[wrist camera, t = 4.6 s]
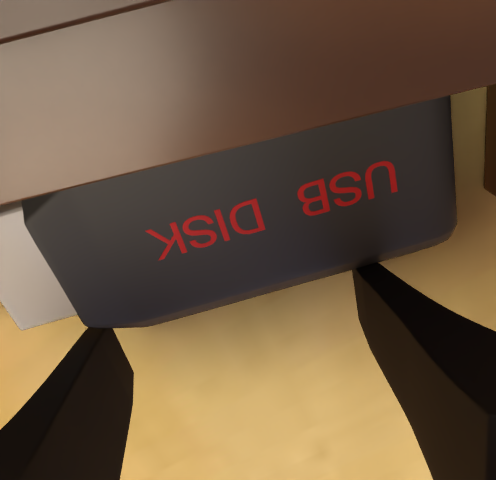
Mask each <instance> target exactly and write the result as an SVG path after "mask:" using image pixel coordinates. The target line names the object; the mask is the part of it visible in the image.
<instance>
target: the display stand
mask: <svg viewBox="0 0 496 480" xmlns="http://www.w3.org/2000/svg"><path fill="white" fill-rule="evenodd" d="M485 86H488V90H487V119H486V147H485V176H484V188H485V189H486V190H487V191H489V192H490V193H491V194H493V195H494V196H496V0H0V206H1V205H5V204H9V203H14V202H18V201H22V200H26V199H30V198H34V197H38V196H42V195H46V194H50V193H54V192H58V191H62V190H66V189H70V188H75V187H79V186H83V185H87V184H91V183H95V182H99V181H103V180H107V179H111V178H115V177H119V176H123V175H127V174H131V173H135V172H140V171H144V170H148V169H152V168H156V167H160V166H164V165H168V164H172V163H176V162H180V161H184V160H188V159H192V158H196V157H201V156H205V155H209V154H213V153H217V152H221V151H225V150H229V149H233V148H237V147H241V146H245V145H249V144H253V143H257V142H262V141H266V140H270V139H274V138H278V137H282V136H286V135H290V134H294V133H298V132H302V131H306V130H310V129H314V128H318V127H322V126H327V125H331V124H335V123H339V122H343V121H347V120H351V119H355V118H359V117H363V116H367V115H371V114H375V113H379V112H383V111H388V110H392V109H396V108H400V107H404V106H408V105H412V104H416V103H420V102H424V101H428V100H432V99H436V98H440V97H444V96H448V95H453V94H457V93H461V92H465V91H469V90H473V89H477V88H481V87H485Z"/></svg>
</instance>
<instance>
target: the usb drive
mask: <svg viewBox="0 0 496 480" xmlns="http://www.w3.org/2000/svg"><path fill="white" fill-rule="evenodd" d="M456 225H457V210H456V192H455V174H454V157H453V139H452V121H451V103H450V95H448V96H444V97H440V98H436V99H432V100H428V101H424V102H420V103H416V104H412V105H408V106H404V107H400V108H396V109H392V110H388V111H383V112H379V113H375V114H371V115H367V116H363V117H359V118H355V119H351V120H347V121H343V122H339V123H335V124H331V125H327V126H322V127H318V128H314V129H310V130H306V131H302V132H298V133H294V134H290V135H286V136H282V137H278V138H274V139H270V140H266V141H262V142H257V143H253V144H249V145H245V146H241V147H237V148H233V149H229V150H225V151H221V152H217V153H213V154H209V155H205V156H201V157H196V158H192V159H188V160H184V161H180V162H176V163H172V164H168V165H164V166H160V167H156V168H152V169H148V170H144V171H140V172H135V173H131V174H127V175H123V176H119V177H115V178H111V179H107V180H103V181H99V182H95V183H91V184H87V185H83V186H79V187H75V188H70V189H66V190H62V191H58V192H54V193H50V194H46V195H42V196H38V197H34V198H30V199H26V200H22V201H18V202H14V203H9V204H5V205H1V206H0V301H1V303H2V304H3V306H4V307H5V309H6V310H7V312H8V313H9V314H10V316H11V317H12V319H13V320H14V322H15V323H16V325H17V326H18V327H19V329H20V330H26V329H29V328H33V327H36V326H40V325H43V324H47V323H50V322H54V321H57V320H61V319H64V318H68V317H71V316H75V315H78V316H79V318H80V319H81V321H82V322H83V324H84V325H85V326H87V327H92V328H134V327H148V326H153V325H157V324H161V323H164V322H168V321H172V320H175V319H179V318H182V317H186V316H189V315H193V314H196V313H200V312H203V311H207V310H211V309H214V308H218V307H221V306H225V305H228V304H232V303H235V302H239V301H242V300H246V299H250V298H253V297H257V296H260V295H264V294H267V293H271V292H274V291H278V290H282V289H285V288H289V287H292V286H296V285H299V284H303V283H306V282H310V281H313V280H317V279H321V278H324V277H328V276H331V275H335V274H338V273H342V272H345V271H349V270H352V269H356V268H360V267H363V266H367V265H370V264H374V263H377V262H381V261H384V260H388V259H392V258H395V257H399V256H402V255H406V254H409V253H413V252H416V251H419V250H422V249H425V248H429V247H432V246H435V245H437V244H439V243H442V242H444V241H446V240H448V239H449V237H450V236H451V235H452V233H453V231H454V229H455V227H456Z"/></svg>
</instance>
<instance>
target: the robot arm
mask: <svg viewBox="0 0 496 480" xmlns="http://www.w3.org/2000/svg"><path fill="white" fill-rule="evenodd" d="M352 273H353V280H354V287H355V295H356V302H357V309H358V317H359V321H360V323H361V326H362V329H363V331H364V334H365V337H366V339H367V342H368V344H369V347H370V349H371V351H372V353H373V355H374V357H375V359H376V361H377V362H378V364H379V366H380V368H381V370H382V372H383V374H384V375H385V377H386V379H387V381H388V383H389V385H390V387H391V388H392V390H393V392H394V394H395V396H396V398H397V399H398V401H399V403H400V405H401V407H402V409H403V411H404V412H405V414H406V416H407V418H408V421H409V423H410V425H411V427H412V429H413V431H414V434H415V436H416V438H417V441H418V443H419V446H420V448H421V450H422V453H423V455H424V458H425V460H426V463H427V465H428V467H429V470H430V472H431V475H432V477H433V480H496V331H494V330H491V329H489V328H486V327H484V326H482V325H480V324H477V323H475V322H473V321H471V320H469V319H467V318H465V317H462V316H460V315H458V314H456V313H455V312H453V311H451V310H449V309H447V308H445V307H444V306H442V305H440V304H438V303H437V302H435V301H433V300H432V299H430V298H428V297H427V296H425V295H424V294H422V293H421V292H419V291H418V290H416V289H414V288H413V287H411V286H410V285H408V284H407V283H406V282H404V281H403V280H401V279H400V278H398V277H397V276H396V275H394V274H393V273H392V272H390V271H389V270H387V269H386V268H385V267H383V266H382V265H381V264H379V263H378V262H377V263H374V264H370V265H367V266H363V267H360V268H356V269H352ZM133 379H134V372H133V370H132V368H131V366H130V364H129V361H128V359H127V357H126V355H125V353H124V351H123V349H122V347H121V345H120V343H119V341H118V339H117V337H116V335H115V332H114V330H113V328H92V327H88V328H87V330H86V331H85V332H84V333H83V334H82V335H81V337H80V338H79V339H78V340H77V342H76V343H75V344H74V346H73V347H72V348H71V349H70V351H69V352H68V353H67V354H66V356H65V357H64V358H63V360H62V361H61V362H60V363H59V365H58V366H57V367H56V368H55V369H54V371H53V372H52V373H51V374H50V376H49V377H48V378H47V379H46V381H45V382H44V383H43V384H42V385H41V386H40V388H39V389H38V390H37V391H36V392H35V393H34V394H33V396H32V397H31V398H30V399H29V400H28V401H27V402H26V404H25V405H24V406H23V407H22V408H21V409H20V410H19V411H18V412H17V414H16V415H15V416H14V417H13V418H12V419H11V420H10V421H9V422H8V423H7V424H6V425H5V426H4V427H3V428H2V429H1V430H0V480H120V475H121V469H122V463H123V458H124V452H125V447H126V441H127V435H128V430H129V424H130V418H131V412H132V405H133Z"/></svg>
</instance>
